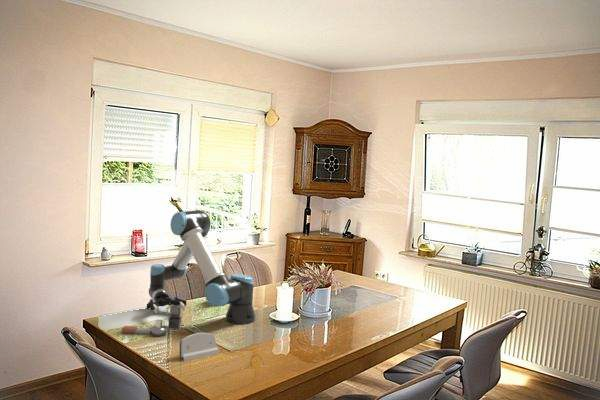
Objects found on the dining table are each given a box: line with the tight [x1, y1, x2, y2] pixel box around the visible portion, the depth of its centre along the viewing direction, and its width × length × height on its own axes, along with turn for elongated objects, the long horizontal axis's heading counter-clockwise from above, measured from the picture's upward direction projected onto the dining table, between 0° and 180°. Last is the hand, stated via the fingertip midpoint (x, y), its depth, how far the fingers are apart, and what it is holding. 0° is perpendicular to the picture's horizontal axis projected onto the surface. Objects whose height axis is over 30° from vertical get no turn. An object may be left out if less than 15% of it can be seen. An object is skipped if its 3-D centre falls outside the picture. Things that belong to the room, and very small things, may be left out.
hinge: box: [178, 332, 220, 362], centre depth 223 cm, size 17×5×10 cm, turn 127°
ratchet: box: [121, 319, 167, 338], centre depth 244 cm, size 20×7×6 cm, turn 90°
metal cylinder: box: [168, 305, 182, 330], centre depth 255 cm, size 5×5×10 cm
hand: (170, 309), depth 263 cm, fingers open, 13 cm apart
